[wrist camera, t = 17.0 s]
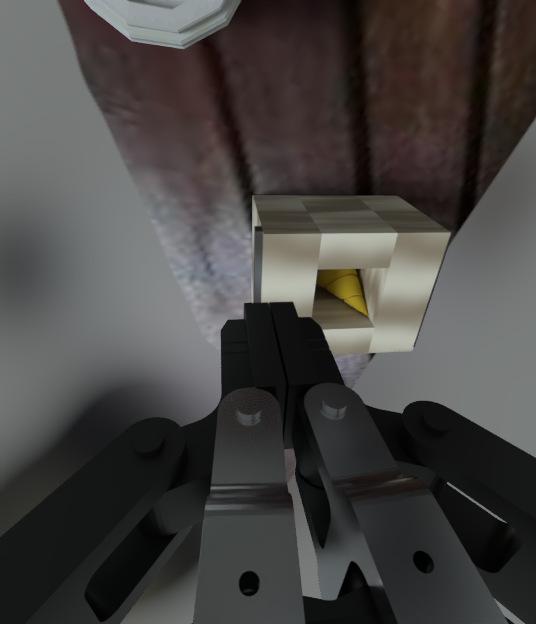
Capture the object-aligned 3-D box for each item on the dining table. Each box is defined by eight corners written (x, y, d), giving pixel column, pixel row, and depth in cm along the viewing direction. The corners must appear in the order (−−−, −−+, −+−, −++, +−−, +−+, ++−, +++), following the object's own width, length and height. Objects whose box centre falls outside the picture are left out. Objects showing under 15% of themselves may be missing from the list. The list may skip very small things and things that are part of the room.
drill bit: (345, 229, 41) (399, 296, 37) (320, 262, 44) (367, 327, 40) (312, 228, 37) (368, 302, 33) (288, 264, 41) (335, 335, 37)
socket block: (246, 195, 38) (256, 234, 29) (402, 195, 40) (457, 232, 31) (246, 300, 45) (253, 358, 36) (378, 296, 47) (417, 350, 38)
